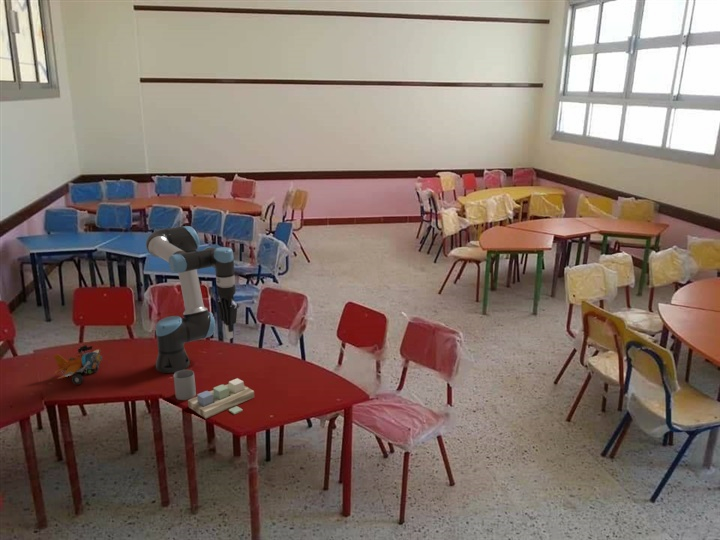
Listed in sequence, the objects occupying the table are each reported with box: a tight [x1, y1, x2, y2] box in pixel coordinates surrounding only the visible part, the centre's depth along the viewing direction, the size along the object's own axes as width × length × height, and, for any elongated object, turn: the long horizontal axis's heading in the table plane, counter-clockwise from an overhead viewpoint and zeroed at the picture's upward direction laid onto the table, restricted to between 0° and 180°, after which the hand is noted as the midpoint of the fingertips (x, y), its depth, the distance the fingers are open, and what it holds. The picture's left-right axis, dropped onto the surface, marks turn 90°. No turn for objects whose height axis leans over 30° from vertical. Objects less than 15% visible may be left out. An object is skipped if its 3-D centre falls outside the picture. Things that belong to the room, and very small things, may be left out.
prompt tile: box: [228, 405, 243, 415], centre depth 235 cm, size 4×4×1 cm
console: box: [187, 383, 255, 420], centre depth 242 cm, size 13×24×3 cm, turn 136°
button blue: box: [196, 390, 214, 407], centre depth 236 cm, size 4×4×4 cm
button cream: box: [228, 377, 245, 394], centre depth 246 cm, size 4×4×4 cm
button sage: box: [212, 383, 229, 400], centre depth 241 cm, size 4×4×4 cm
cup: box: [173, 369, 197, 401], centre depth 246 cm, size 8×8×10 cm
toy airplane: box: [53, 344, 104, 385], centre depth 260 cm, size 29×23×15 cm
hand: (229, 337), depth 246 cm, fingers closed
